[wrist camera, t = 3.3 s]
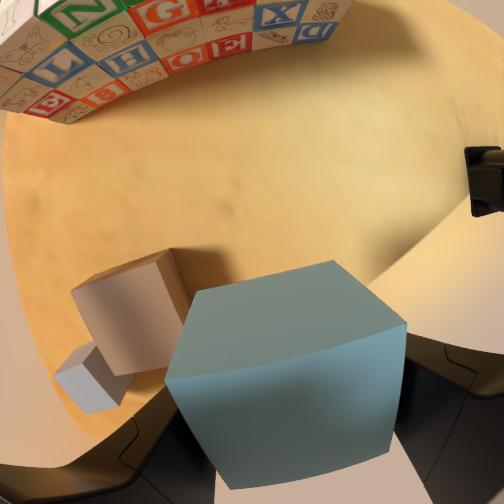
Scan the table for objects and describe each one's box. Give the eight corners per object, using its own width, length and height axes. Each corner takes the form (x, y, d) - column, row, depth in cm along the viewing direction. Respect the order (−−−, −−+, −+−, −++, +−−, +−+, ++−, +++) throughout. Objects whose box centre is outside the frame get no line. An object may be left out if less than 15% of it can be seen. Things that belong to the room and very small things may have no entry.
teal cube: (333, 260, 9) (407, 322, 4) (343, 367, 10) (388, 452, 5) (196, 291, 9) (163, 379, 4) (231, 393, 10) (230, 489, 5)
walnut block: (171, 246, 19) (155, 261, 15) (205, 331, 21) (199, 359, 17) (95, 274, 19) (70, 291, 16) (130, 348, 21) (114, 376, 17)
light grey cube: (104, 334, 21) (82, 363, 16) (134, 374, 22) (119, 406, 17) (75, 349, 21) (52, 375, 16) (103, 385, 22) (86, 414, 17)
